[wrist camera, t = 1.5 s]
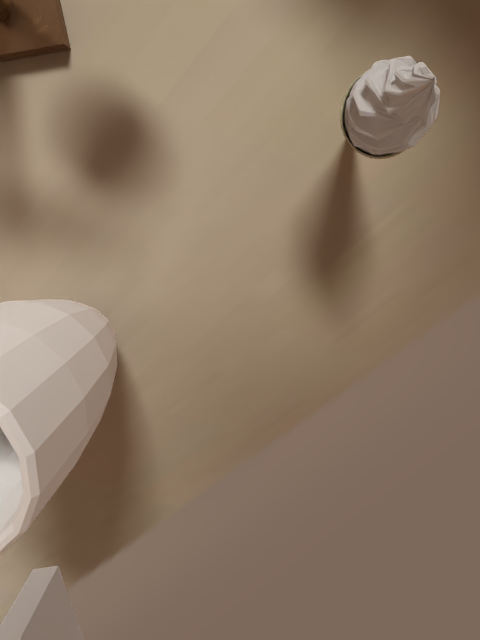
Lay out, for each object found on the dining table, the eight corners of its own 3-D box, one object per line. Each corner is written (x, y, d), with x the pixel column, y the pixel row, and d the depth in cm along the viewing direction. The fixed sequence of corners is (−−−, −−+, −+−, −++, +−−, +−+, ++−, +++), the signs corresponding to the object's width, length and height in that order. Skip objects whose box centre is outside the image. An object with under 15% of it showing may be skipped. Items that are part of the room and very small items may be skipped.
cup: (57, 388, 39) (-158, 599, 18) (22, 277, 36) (-277, 374, 16) (169, 369, 38) (77, 565, 18) (141, 254, 36) (-6, 324, 15)
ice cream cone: (398, 131, 33) (516, 75, 19) (350, 183, 34) (427, 167, 20) (351, 83, 32) (437, -16, 18) (304, 137, 33) (349, 86, 19)
